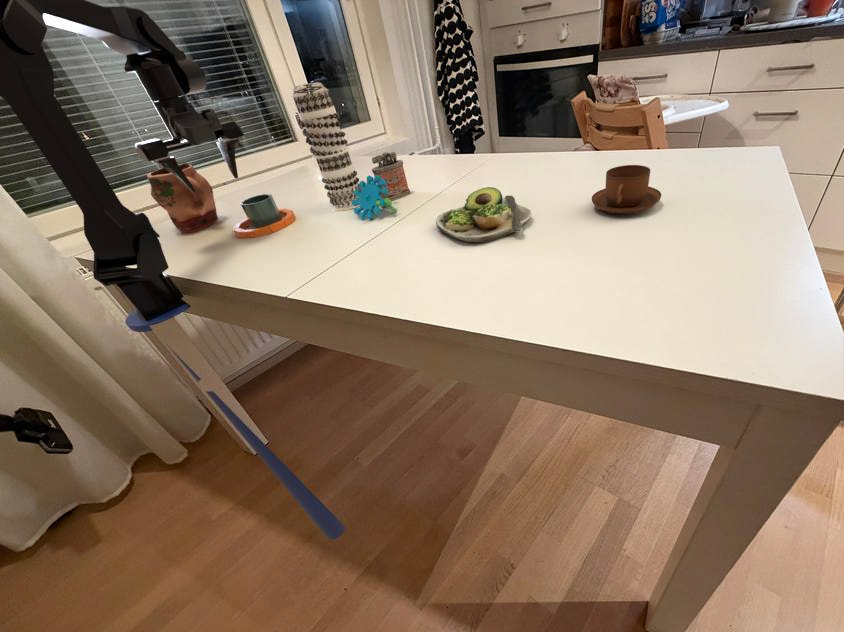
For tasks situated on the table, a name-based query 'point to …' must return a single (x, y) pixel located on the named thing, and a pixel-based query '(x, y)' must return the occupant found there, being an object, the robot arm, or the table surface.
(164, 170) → the decorative planter
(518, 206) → the avocado toast plate
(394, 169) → the lighter
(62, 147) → the robot arm
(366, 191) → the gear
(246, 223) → the ring
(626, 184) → the cup and saucer
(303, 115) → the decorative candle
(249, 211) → the cup
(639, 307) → the table surface
